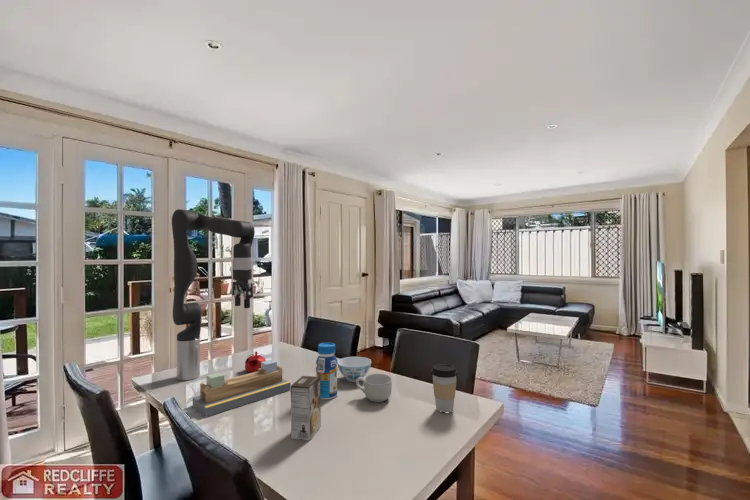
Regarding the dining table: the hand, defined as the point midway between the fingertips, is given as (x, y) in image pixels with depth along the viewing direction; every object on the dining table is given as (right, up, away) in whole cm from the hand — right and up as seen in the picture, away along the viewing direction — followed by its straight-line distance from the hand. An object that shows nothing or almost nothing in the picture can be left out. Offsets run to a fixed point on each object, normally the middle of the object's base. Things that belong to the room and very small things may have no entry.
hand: (242, 307), depth 150 cm
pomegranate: (-1, -34, +19) cm, 38 cm away
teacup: (+55, -33, -14) cm, 66 cm away
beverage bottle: (+37, -33, -11) cm, 51 cm away
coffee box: (+35, -33, -39) cm, 62 cm away
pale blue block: (+12, -25, -4) cm, 29 cm away
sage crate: (-2, -25, -20) cm, 32 cm away
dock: (+5, -33, -12) cm, 36 cm away
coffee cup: (+80, -33, -24) cm, 90 cm away
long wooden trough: (+5, -30, -12) cm, 33 cm away
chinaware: (+47, -33, +7) cm, 58 cm away
